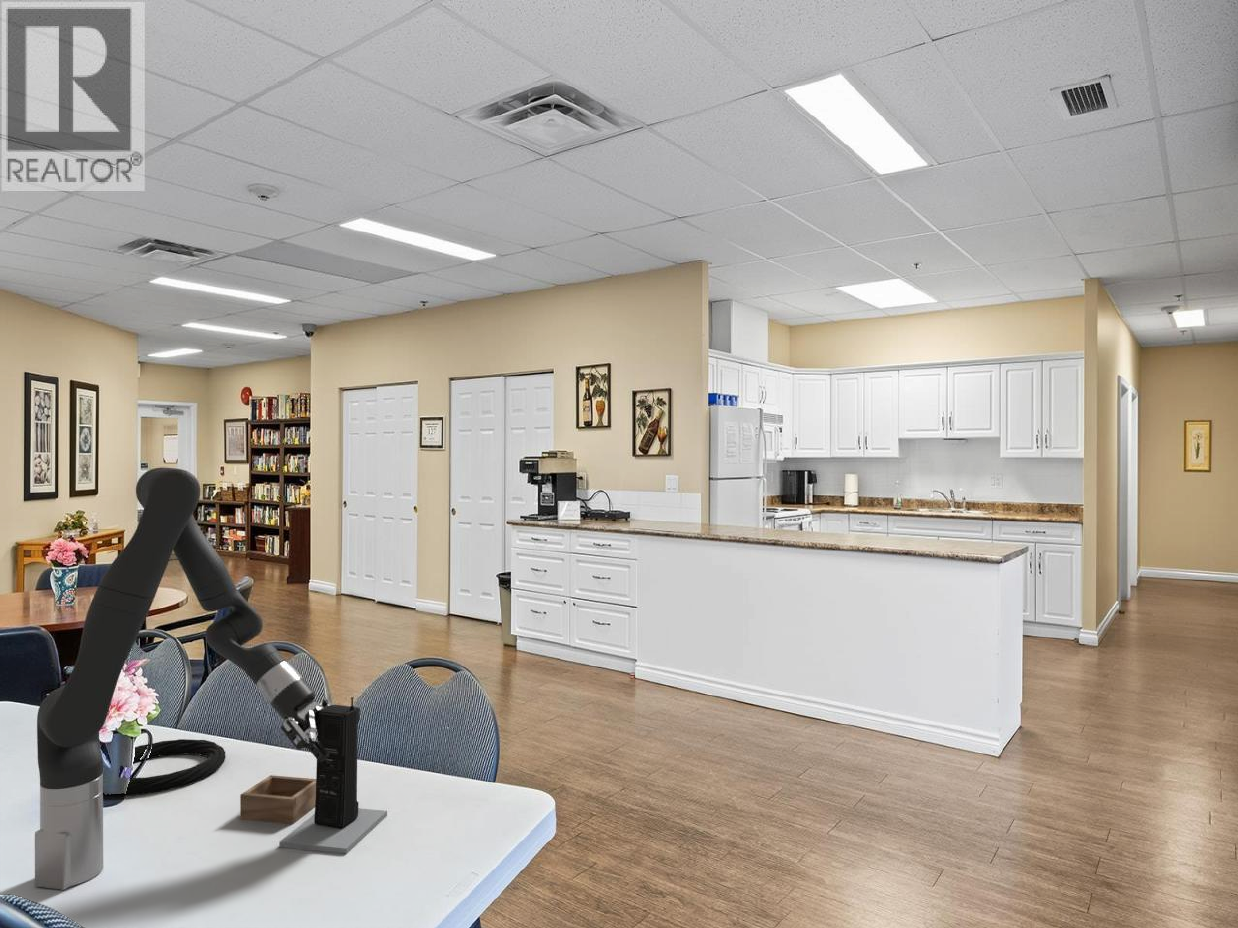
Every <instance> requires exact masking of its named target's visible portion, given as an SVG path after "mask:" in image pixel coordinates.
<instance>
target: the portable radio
mask: <svg viewBox="0 0 1238 928" xmlns="http://www.w3.org/2000/svg"><path fill="white" fill-rule="evenodd" d="M354 698H355V697H352V696H351V697H350V700H351V701H350V702H351V705H350V706H349V705H341V704H334V705H330V706H327V707H325V708H323V709H320V710H318V721H319V722H320V723H321V724H320V725H319V726H318V728H317V730H316V731H317V733H316V741H317V740H319V742H320V743H321V744H322V745H323V746H324V747H325V749H326V750H327V751H328V752H329V756H328V757H327V758H326V759H325V760H324V761H323V762H320V761H319V760H318V759H316V773H315V775H316V776H315V777H316V778H315V779H316V801H315V807H314V814H315V816H314V823H315V824H318V825H324V826H329V827H335V828H340V829H342V828H345V827H346V826H347V825H349V824H350V823H352V822H353V821H354V820H355V819H356V818H357V817H358V808H359V801H358V738H359V737H358V726H359V722H360V720H361V718H360V717H361V709H360V707H357V706H356V707H355V706H354Z"/></svg>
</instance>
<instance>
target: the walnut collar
mask: <svg viewBox="0 0 1238 928" xmlns="http://www.w3.org/2000/svg"><path fill="white" fill-rule="evenodd" d="M239 797H240V805H239V806H240V810H239V811H240V814H239V816H240V820H249V821H261V822H267V823H268V822H269V823H281V824H290V825H291V824H292V825H293V824H295V823H297V821H299V820H300V819H302V818H303V817H304V816H305V815H306V814H308V813H309V812H310V811H312V810H313V809H315V801H316V778H307V777H298V776H297V777H296V776H295V777H294V776H282V775H274V774H273V775H269V776H267V777H266V778H264V779H262V780H261V781H259V782H258V783H256V784H255V785H253V786H252V787H250V788H248V789H247V790H245V791H244V792H242V793H240V796H239Z"/></svg>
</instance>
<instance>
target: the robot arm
mask: <svg viewBox="0 0 1238 928" xmlns="http://www.w3.org/2000/svg"><path fill="white" fill-rule="evenodd" d="M200 485H201V484H200V483H199V480H198V479H197V477H196V476H195V475H194V474H193V473H191V472H190V471H188V470H185V469H181V468H174V467H163V466H161V467H155V468H152V469H149V470H147V471H145V472H144V473H143V474H142V475H140V477H139V479H138V481H137V482H136V486H135V496H136V499H137V501H138V503H139V504H140V505H141V507H142V508H143V511H142V514H141V517H140V519H139V522H138V524H137V527H136V529H135V531H134V533H133V534H132V536H131V538H130V540H129V541H128V543H127V544H126V545H125V547H124V548H123V549H122V550H121V551H120V553H119V554H118V555H117V556H116V557H115V558H114V560H113V561H112V562H111V564H110V565H109V567H108V568H107V570H106V571H105V573H104V574H103V576H102V578H101V580H100V581H99V584H98V586H97V588H96V590H95V593H94V595H93V597H92V600H91V602H90V604H89V607H88V610H87V612H86V616H85V618H84V619H85V620H84V622H83V623H84V624H83V628H82V629H83V630H82V633H81V638H80V645H79V650H78V654H77V657H76V658H77V659H76V661H75V664H74V666H73V669H72V670H71V672H70V674H69V677H68V679H67V680H66V682H65V685H64V686H61V687H58V688H56V689H54V690H53V691H51V692H50V693H49V694H48V695H46V697H45V698H44V699H43V700H42V702H41V703H40V705H39V707H38V711H37V715H36V743H37V744H36V745H37V746H36V747H37V748H36V749H37V765H38V771H39V829H38V830H36V831H35V832H34V887H37V888H47V889H55V890H63V891H64V890H67V889H68V888H70V887H73V886H75V885H79V884H82V883H85V882H88V881H89V880H92V879H93V878H95V877H96V876H98V875H99V874H101V872H102V871H103V869H104V795H103V761H104V758H103V754H102V751H101V749H102V748H101V741H100V731H101V730H102V728H103V727H104V725H105V723H106V720H107V719H108V718H107V717H108V714H109V712H110V707H111V706H112V705H111V704H112V700H113V697H114V694H115V690H116V687H117V685H118V684H117V683H118V682H119V678H120V675H121V672H122V670H123V667H124V665H125V663H126V662H127V660H128V657H129V655H130V652H131V651H132V649H133V647H134V645H135V642H136V640H137V639H138V636H139V634H140V632H141V629H142V627H143V624H144V623H145V621H146V618H147V616H148V614H149V611H150V609H151V606H152V604H153V602H154V599H155V597H156V595H157V592H158V589H159V586H160V584H161V582H162V579H163V577H164V575H165V572H166V569H167V567H168V564H169V562H170V560H171V556H172V554H173V553H174V555H175V557H176V558H177V561H178V562H179V565H180V566H181V568H182V570H183V572H184V575H185V577H186V578H187V580H188V583H189V585H190V587H191V588H192V591H193V593H194V594H195V597H196V599H197V601H198V603H199V605H200V607H201V608H202V609H203V610H204V611H206V612H216V611H219V610H222V609H225V608H228V607H229V608H230V609H231V611H230V612H229V613H227V614H226V615H224V616H222V617H220V618H219V619H218V620H215V621H214V622H212V623H211V624H210V625H208V626H207V628H206V629H205V633H204V634H205V641H206V643H207V644H208V646H209V648H211V649H212V650H213V651H214V652H216V653H217V654H218V655H219V656H221V657H223V658H225V659H226V660H228V661H230V662H231V663H233V664H234V665H236V667H238V668H239V669H241V670H242V671H243V672H244V673H245V674H246V675H247V677H249V679H250V680H251V681H252V682H253V684H254V685H256V687H257V688H258V690H259V692H260V693H261V695H262V696H263V697H264V699H265V700H266V701H267V702H268V703H269V704H270V706H271V707H272V708H273V709H274V710H275V712H276V713H277V714H278V715H279V716H280V717H281V719H283V721H285V722H283V724H281V726H280V729H281V731H282V732H283V733H284V734H285V735H286V737H287V738H288V740H289V742H291V743H292V744H293V746H294V747H295V748H296V750H298V751H300V750H301V749H306V750H308V751H309V752H311V754H312V756H314V758H315V759H316V760H317V759H318V760H319V761H320V762H323V761H324V760H325V759H326V758H327V757H328V756H329V752H328V751H327V750H326V749H325V747H324V746H323V745H322V744H321V743H320V742H319V740H317V733H316V731H317V728H318V726H319V725H320V724H321V723H320V722H319V721H318V710H320V709H323V708H325V707H327V706H330V705H335V704H334V703H333V702H332V701H330V699H329V698H327V697H325V698H324V699H323V700H322V701H321V702H320V703H319V702H318V701H316V700H315V697H316V694H317V693H316V691H315V690H314V689H313V688H312V687H311V685H310V684H308V682H307V681H306V680H305V679H304V677H303V676H302V675H301V674H300V672H298V670H297V669H296V668H295V667H294V666H292V665H291V664H290V663H289V662H288V661H287V660H286V659H285V657H283V655H282V654H281V653H280V652H279V651H278V649H277V648H276V647H275V646H274V645H273V644H272V643H269V642H265V643H264V642H263V643H261V644H258V645H256V646H253V647H245V646H244V645H245V644H247V643H248V642H251V640H254V639H255V638H256V637H257V636H259V635H260V634H261V633H262V630H263V628H264V624H263V623H264V622H263V619H262V616H261V614H260V613H259V612H257V610H255V608H254V607H253V606H252V605H250V603H248V601H247V600H246V598H244V596H243V595H242V594H241V592H240V591H239V590H238V588H237V586H236V585H235V583H234V580H233V579H232V577H231V574H230V572H229V570H228V568H227V566H226V565H225V563H224V561H223V559H222V558H221V556H220V555H219V554H218V552H217V551H216V549H215V547H214V546H213V545H212V544H211V542H210V541H209V540H208V538H207V537H206V536H205V534H204V533H203V531H202V530H201V528H200V526H199V524H198V522H197V521H196V520H197V519H195V517H194V515H193V514H194V511H196V508H197V505H198V504H199V501H200V497H201V486H200ZM297 736H298V738H299V739H298V738H297Z"/></svg>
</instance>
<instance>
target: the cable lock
mask: <svg viewBox="0 0 1238 928" xmlns="http://www.w3.org/2000/svg"><path fill="white" fill-rule="evenodd" d="M148 744H149V743H148ZM148 744H142V745H138V746H135V757H134V763H135V762H136V761H137V762H139V761H138V760H140V758H141V757H142V756H143V754H144V752H145V750H146V749H147V746H148ZM151 744H152V749H151V753H150V755H149V759H152V758H156V756H157V757H160V756H159V755H165V756H171V755H178V754H177V753H190V754H189V755H193V754H194V755H199V754H201V755H200V756H202V755H204V756H203V757H208V758H207V759H206V760H205V761H203V762H199V763H198V764H196V765H194V766H191V767H189V768H185V769H181V770H178V771H174V772H171V773H168V774H167V773H166V774H160V775H154V776H153V775H152V776H147V777H131V778H132V779H131V780H130V782H129V784H128V787H127V791H126V794H127V795H128V796H129V795H131V796H135V795H136V796H137V795H145V794H150V793H151V794H152V793H154V794H155V793H161V792H166V791H169V790H172V789H176V788H182V787H186V786H188V785H192V784H194V783H196V782H198V781H200V779H201V780H203V779H205V778H207V777H209V776H211V775H212V774H214V773H215V772H216V771H218V770H219V769H220V768H221V767H222V765H223V764H224V763H225V761H226V751H225V748H223V746H221V745H219V744H218V743H216V742H213V741H210V740H206V739H189V738H188V739H181V738H180V739H174V740H172V739H171V740H162V741H157V742H154V743H151ZM191 753H192V754H191ZM196 753H197V754H196ZM137 762H136V763H137ZM217 769H218V770H217ZM191 783H192V784H191ZM126 794H125V795H126Z"/></svg>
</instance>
